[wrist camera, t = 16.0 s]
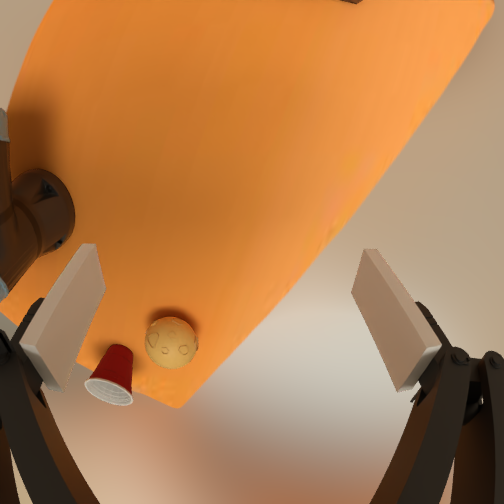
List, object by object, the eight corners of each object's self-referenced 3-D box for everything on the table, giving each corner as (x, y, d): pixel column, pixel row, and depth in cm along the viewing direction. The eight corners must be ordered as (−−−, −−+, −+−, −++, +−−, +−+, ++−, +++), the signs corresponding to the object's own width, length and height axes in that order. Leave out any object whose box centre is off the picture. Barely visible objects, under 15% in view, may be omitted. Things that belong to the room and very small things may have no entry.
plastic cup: (100, 360, 64) (86, 399, 53) (98, 331, 58) (81, 373, 48) (142, 372, 66) (132, 413, 55) (144, 344, 60) (132, 389, 50)
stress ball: (183, 341, 61) (214, 356, 55) (148, 367, 55) (176, 387, 48) (167, 301, 58) (198, 313, 51) (127, 327, 51) (153, 344, 45)
